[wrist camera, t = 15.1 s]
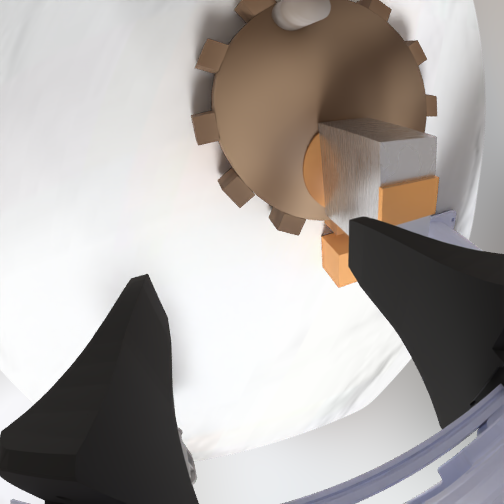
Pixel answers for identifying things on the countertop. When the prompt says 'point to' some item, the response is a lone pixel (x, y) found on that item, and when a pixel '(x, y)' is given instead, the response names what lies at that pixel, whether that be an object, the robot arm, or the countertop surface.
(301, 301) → the countertop surface
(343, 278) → the block
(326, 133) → the white banded box
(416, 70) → the brown gear wheel
